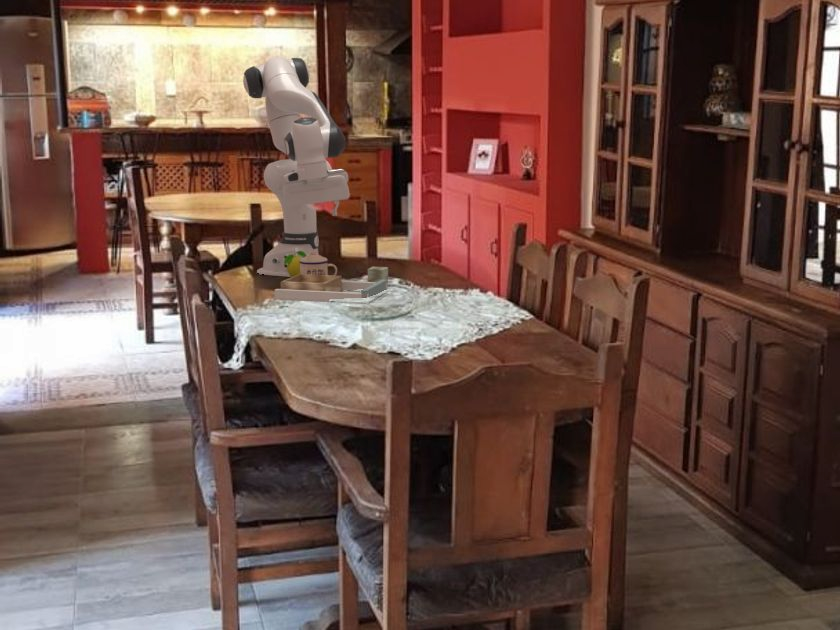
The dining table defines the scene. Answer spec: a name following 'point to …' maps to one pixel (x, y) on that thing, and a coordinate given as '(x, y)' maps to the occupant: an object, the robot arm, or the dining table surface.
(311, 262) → the teacup with lid
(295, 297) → the bay
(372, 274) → the block
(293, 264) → the lemon
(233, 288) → the dining table surface
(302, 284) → the crate
